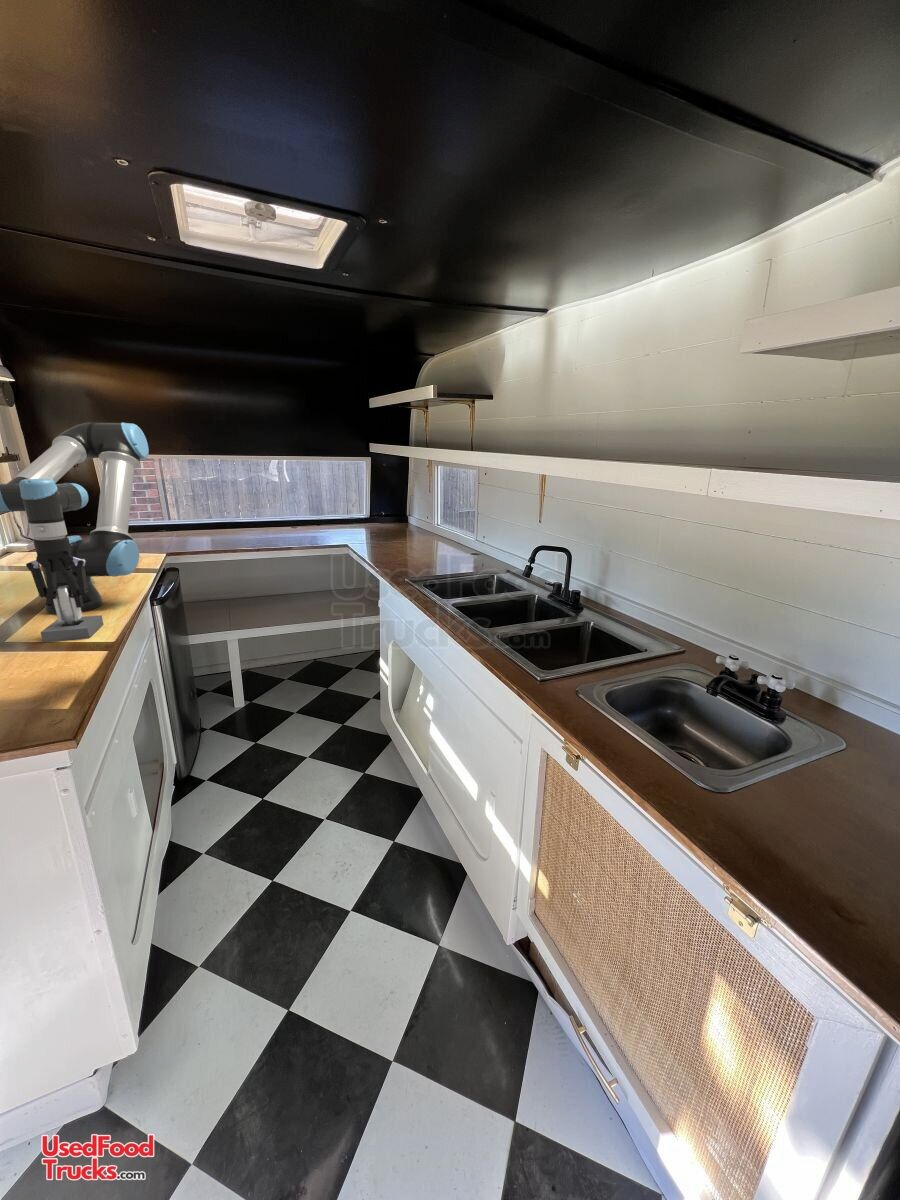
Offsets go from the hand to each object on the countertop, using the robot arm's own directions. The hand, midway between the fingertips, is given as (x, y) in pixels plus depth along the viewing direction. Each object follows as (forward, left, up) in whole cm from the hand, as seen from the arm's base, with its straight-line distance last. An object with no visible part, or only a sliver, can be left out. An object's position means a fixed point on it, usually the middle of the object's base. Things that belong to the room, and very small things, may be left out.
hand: (70, 618), depth 138 cm
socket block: (0, 0, -4) cm, 4 cm away
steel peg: (0, 0, -5) cm, 5 cm away
